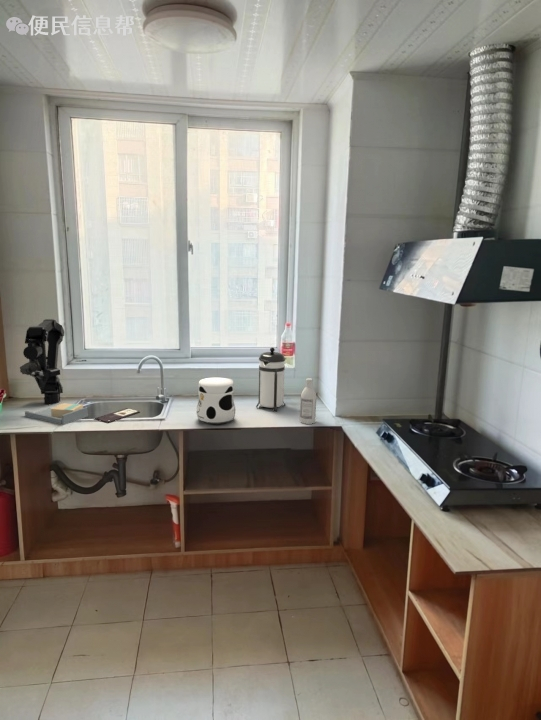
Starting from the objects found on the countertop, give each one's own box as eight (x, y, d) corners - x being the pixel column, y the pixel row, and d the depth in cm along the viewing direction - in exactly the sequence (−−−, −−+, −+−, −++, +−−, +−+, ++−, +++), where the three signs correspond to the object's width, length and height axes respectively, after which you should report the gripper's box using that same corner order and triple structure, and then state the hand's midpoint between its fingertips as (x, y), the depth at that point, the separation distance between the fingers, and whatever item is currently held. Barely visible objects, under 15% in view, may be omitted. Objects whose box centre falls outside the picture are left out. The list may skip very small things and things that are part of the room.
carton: (62, 412, 209) (61, 403, 208) (83, 414, 208) (82, 404, 207) (51, 418, 201) (50, 408, 200) (73, 420, 200) (72, 410, 199)
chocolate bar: (94, 418, 206) (126, 408, 221) (95, 420, 206) (126, 410, 221) (108, 422, 201) (140, 411, 216) (108, 424, 202) (140, 413, 217)
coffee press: (291, 411, 225) (293, 350, 219) (259, 412, 221) (260, 350, 215) (282, 400, 241) (283, 343, 235) (251, 402, 237) (252, 344, 231)
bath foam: (307, 418, 214) (308, 376, 210) (318, 422, 209) (320, 379, 205) (296, 421, 210) (298, 378, 206) (308, 425, 205) (309, 381, 201)
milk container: (189, 418, 210) (189, 380, 206) (222, 412, 220) (222, 375, 217) (208, 429, 197) (208, 388, 193) (242, 422, 207) (243, 383, 203)
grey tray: (49, 411, 216) (48, 399, 214) (88, 419, 206) (87, 407, 205) (24, 419, 204) (23, 407, 203) (64, 428, 194) (63, 415, 193)
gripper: (7, 355, 201) (10, 390, 204) (38, 360, 194) (40, 396, 197) (30, 351, 211) (33, 385, 214) (60, 356, 204) (62, 390, 207)
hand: (41, 389), depth 208 cm, fingers closed
